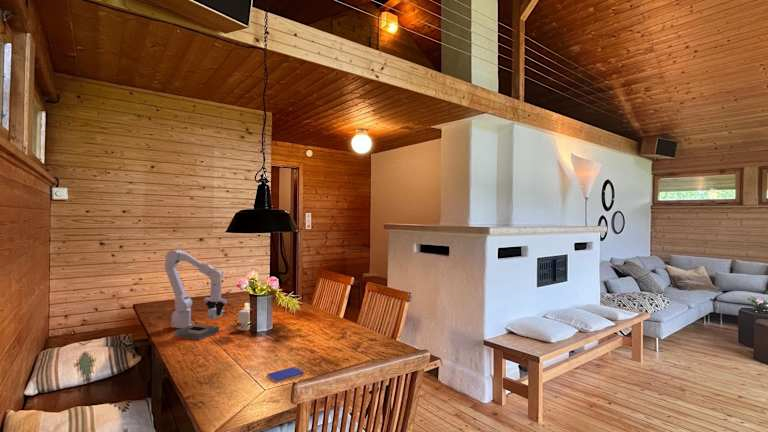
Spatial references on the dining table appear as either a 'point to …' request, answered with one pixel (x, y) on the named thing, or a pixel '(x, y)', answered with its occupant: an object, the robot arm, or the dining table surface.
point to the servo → (214, 313)
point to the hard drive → (285, 374)
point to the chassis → (196, 331)
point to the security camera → (244, 319)
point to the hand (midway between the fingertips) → (215, 314)
